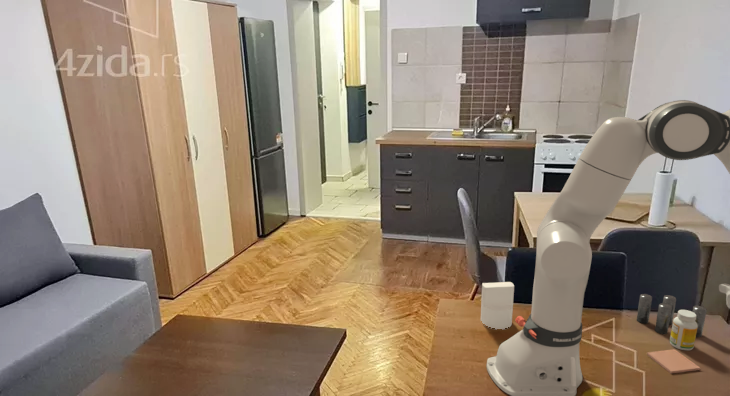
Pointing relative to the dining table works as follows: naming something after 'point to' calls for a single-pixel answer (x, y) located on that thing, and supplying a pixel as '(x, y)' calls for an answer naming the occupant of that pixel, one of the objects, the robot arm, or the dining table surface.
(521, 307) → the dining table surface
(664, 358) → the terracotta tile
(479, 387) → the dining table surface
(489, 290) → the cylinder with rectangular tab
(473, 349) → the dining table surface
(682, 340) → the supplement bottle
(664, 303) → the posts
